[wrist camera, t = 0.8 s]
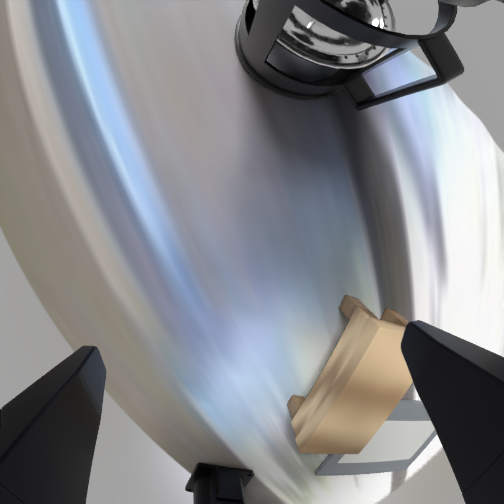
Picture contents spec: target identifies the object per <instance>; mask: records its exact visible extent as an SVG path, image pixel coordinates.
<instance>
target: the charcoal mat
mask: <svg viewBox="0 0 504 504" xmlns="http://www.w3.org/2000/svg"><path fill="white" fill-rule="evenodd" d="M436 434H437V433H436V430H435V428H434V426H433V424H432V422H431V420H430V418H429V415H428V413H427V411H426V409H425V407H424V405H423V403H422V401H414V400H400V401H399V403H398V404H397V406H396V407H395V408H394V410H393V411H392V413H391V414H390V415H389V417H388V418H387V419H386V421H385V422H384V423H383V425H382V426H381V427H380V428H379V430H378V431H377V432H376V434H375V435H374V436H373V437H372V439H371V440H370V441H369V442H368V443H367V445H366V446H365V447H364V448H363V449H362V451H361V452H360V453H359V454H329V456H328V457H327V458H326V459H325V460H324V462H323V463H322V464H321V465H320V466H319V467H318V469H317V470H316V471H315V475H355V474H370V473H381V472H391V471H399V470H406V469H407V468H408V466H409V465H410V464H411V463H412V462H413V461H414V460H415V459H416V458H417V457H418V456H419V454H420V453H421V452H422V451H423V450H424V449H425V448H426V446H427V445H428V444H429V443H430V442H431V441H432V439H433V438H434V437H435V436H436Z"/></svg>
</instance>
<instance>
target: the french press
mask: <svg viewBox="0 0 504 504" xmlns="http://www.w3.org/2000/svg"><path fill="white" fill-rule="evenodd" d="M487 1H489V0H438V4H439V13H438V19H437V22H436V25H435V27H434V29H433V30H432V31H431V32H430V33H429V34H427V35H405V34H401V33H397V32H395V19H394V16H393V12H392V9H391V7H390V5H389V3H388V0H246V3H245V5H244V7H243V11H242V14H241V16H240V18H239V20H238V23H237V25H236V30H235V47H236V51H237V53H238V56H239V59H240V61H241V62H242V64H243V66H244V67H245V69H246V70H247V71H248V73H249V74H250V75H251V76H252V77H253V78H254V79H255V80H256V81H258V82H259V83H260V84H262V85H263V86H264V87H266V88H267V89H269V90H271V91H273V92H275V93H277V94H280V95H283V96H286V97H288V98H294V99H300V100H317V99H322V98H327V97H329V96H331V95H334V94H336V93H338V92H340V91H341V90H342V89H343V90H344V92H345V94H346V95H347V97H348V98H349V100H350V101H351V103H352V105H353V106H354V108H355V109H356V110H358V111H359V110H363V109H366V108H369V107H372V106H375V105H378V104H381V103H384V102H387V101H390V100H393V99H397V98H400V97H403V96H406V95H410V94H413V93H416V92H420V91H423V90H427V89H430V88H434V87H437V86H441V85H444V84H445V83H447V82H449V81H451V80H452V79H454V78H456V77H458V76H459V75H461V74H462V73H463V72H464V67H463V65H462V63H461V61H460V59H459V57H458V55H457V53H456V52H455V50H454V48H453V46H452V45H451V43H450V41H449V40H448V38H447V36H446V35H445V33H444V32H446V31H448V29H449V28H450V27H451V25H452V24H453V23H454V20H455V17H456V14H457V6H461V7H475V6H477V5H480V4H482V3H484V2H487ZM497 1H500V2H502V3H504V0H497ZM275 42H277V43H278V44H279V45H280V46H282V47H283V48H285V49H286V50H287V51H289V52H290V53H292V54H294V55H296V56H298V57H300V58H302V59H304V60H307V61H310V62H312V63H315V64H318V65H322V66H327V67H332V68H340V69H339V70H338V71H337V72H336V73H335V74H334V75H332V76H331V77H329V78H326V79H323V80H319V81H314V82H308V81H302V80H300V79H297V78H294V77H291V76H289V75H287V74H285V73H283V72H282V71H280V70H278V69H276V68H275V67H274V66H272V65H271V64H270V63H269V62H267V61H266V60H267V58H268V56H269V54H270V52H271V50H272V48H273V46H274V44H275ZM417 46H420V47H421V49H422V50H423V52H424V54H425V55H426V57H427V59H428V60H429V62H430V64H431V66H432V67H433V69H434V71H435V73H436V75H432V76H429V77H426V78H423V79H420V80H418V81H415V82H412V83H409V84H406V85H403V86H401V87H398V88H395V89H392V90H390V91H387V92H384V93H382V94H379V95H376V96H375V95H374V93H373V92H372V90H371V89H370V87H369V86H368V84H367V82H366V81H365V79H364V78H363V76H362V75H363V74H365V73H367V72H369V71H371V70H372V69H374V68H376V67H378V66H380V65H382V64H384V63H385V62H387V61H389V60H391V59H393V58H395V57H397V56H399V55H401V54H403V53H405V52H407V51H409V50H411V49H413V48H415V47H417ZM390 48H398V49H396V50H394V51H392V52H391V53H389V54H387V55H385V54H386V53H387V52H388V51H389V50H390ZM384 55H385V56H384ZM383 56H384V57H383Z"/></svg>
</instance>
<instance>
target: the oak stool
mask: <svg viewBox="0 0 504 504" xmlns="http://www.w3.org/2000/svg"><path fill="white" fill-rule="evenodd" d="M339 309H340V310H341V311H342V312H343V313H344V314H345V316H346V317H347V318H348V319H349V320H350V321H349V322H348V324H347V326H346V328H345V330H344V332H343V334H342V336H341V338H340V340H339V342H338V343H337V345H336V347H335V349H334V351H333V353H332V354H331V356H330V358H329V360H328V362H327V363H326V365H325V367H324V369H323V370H322V372H321V374H320V376H319V377H318V379H317V381H316V383H315V384H314V386H313V388H312V389H311V391H310V393H309V394H308V396H307V398H306V399H305V398H304V397H302V396H295V395H292V397H291V399H290V400H289V402H288V404H287V405H288V408H289V411H290V415H291V418H292V421H291V424H292V427H293V430H294V433H295V436H296V439H295V441H296V444H297V447H298V450H299V453H315V454H359V453H360V452H361V451H362V449H363V448H364V447H365V446H366V445H367V443H368V442H369V441H370V440H371V439H372V437H373V436H374V435H375V434H376V432H377V431H378V430H379V428H380V427H381V426H382V425H383V423H384V422H385V421H386V419H387V418H388V417H389V415H390V414H391V413H392V411H393V410H394V408H395V407H396V406H397V404H398V403H399V401H400V400H401V398H402V397H403V396H404V394H405V393H406V391H407V390H408V388H409V387H410V385H411V384H412V382H413V380H412V378H411V375H410V372H409V370H408V367H407V364H406V362H405V359H404V357H403V354H402V352H401V341H402V338H403V334H404V331H405V327H406V325H407V323H409V322H408V321H407V320H405V319H404V318H403V317H402V316H401V315H400V314H398V313H397V312H396V311H394V310H390V309H387V308H386V309H385V311H384V313H383V315H382V317H381V319H380V320H379V319H378V318H377V317H376V316H375V315H374V314H373V313H372V312H371V311H370V310H369V309H368V308H367V307H365V306H364V305H363V304H362V303H361V302H360V301H359V300H358V299H357V298H353V297H350V296H347V295H345V297H344V299H343V301H342V303H341V305H340V307H339Z"/></svg>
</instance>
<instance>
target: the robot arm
mask: <svg viewBox="0 0 504 504" xmlns="http://www.w3.org/2000/svg"><path fill="white" fill-rule="evenodd" d="M401 352H402V354H403V357H404V359H405V362H406V364H407V367H408V370H409V372H410V375H411V378H412V380H413V383H414V385H415V388H416V390H417V392H418V395H419V397H420V399H421V401H422V403H423V405H424V407H425V409H426V411H427V413H428V415H429V418H430V420H431V422H432V424H433V426H434V428H435V430H436V433H437V435H438V437H439V439H440V442H441V444H442V446H443V448H444V451H445V453H446V455H447V458H448V460H449V462H450V465H451V467H452V470H453V472H454V474H455V477H456V479H457V482H458V484H459V487H460V489H461V492H462V495H463V498H464V500H465V503H466V504H504V357H502V356H500V355H497V354H495V353H493V352H491V351H488V350H486V349H484V348H482V347H479V346H477V345H475V344H473V343H470V342H468V341H466V340H464V339H461V338H459V337H457V336H455V335H452V334H450V333H448V332H445V331H443V330H441V329H439V328H436V327H434V326H432V325H430V324H427V323H425V322H423V321H420V320H417V321H412V322H409V323H407V325H406V327H405V331H404V334H403V338H402V341H401ZM105 380H106V368H105V365H104V363H103V360H102V357H101V355H100V352H99V350H98V348H97V347H96V346H82V347H81V348H79V349H78V350H77V351H75V352H74V353H73V354H72V355H70V356H69V357H67V358H66V359H65V360H63V361H62V362H61V363H59V364H58V365H57V366H55V367H54V368H53V369H51V370H50V371H49V372H47V373H46V374H45V375H44V376H42V377H41V378H40V379H38V380H37V381H36V382H34V383H33V384H32V385H30V386H29V387H28V388H26V389H25V390H24V391H23V392H21V393H20V394H19V395H17V396H16V397H15V398H13V399H12V400H11V401H10V402H8V403H7V404H6V405H4V406H3V407H2V410H1V409H0V504H86V497H87V490H88V484H89V477H90V472H91V466H92V460H93V455H94V449H95V445H96V440H97V435H98V430H99V425H100V420H101V413H102V403H103V394H104V387H105ZM253 476H254V473H253V471H251V470H243V469H236V468H228V467H222V466H215V465H210V464H204V463H199V464H197V465H196V467H195V469H194V471H193V473H192V475H191V477H190V479H189V481H188V483H187V485H186V487H185V490H186V491H188V492H193V493H194V504H246V498H245V491H244V487H245V486H246V485H247V484H248V482H249V481H250V480H251V478H252V477H253Z"/></svg>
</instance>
